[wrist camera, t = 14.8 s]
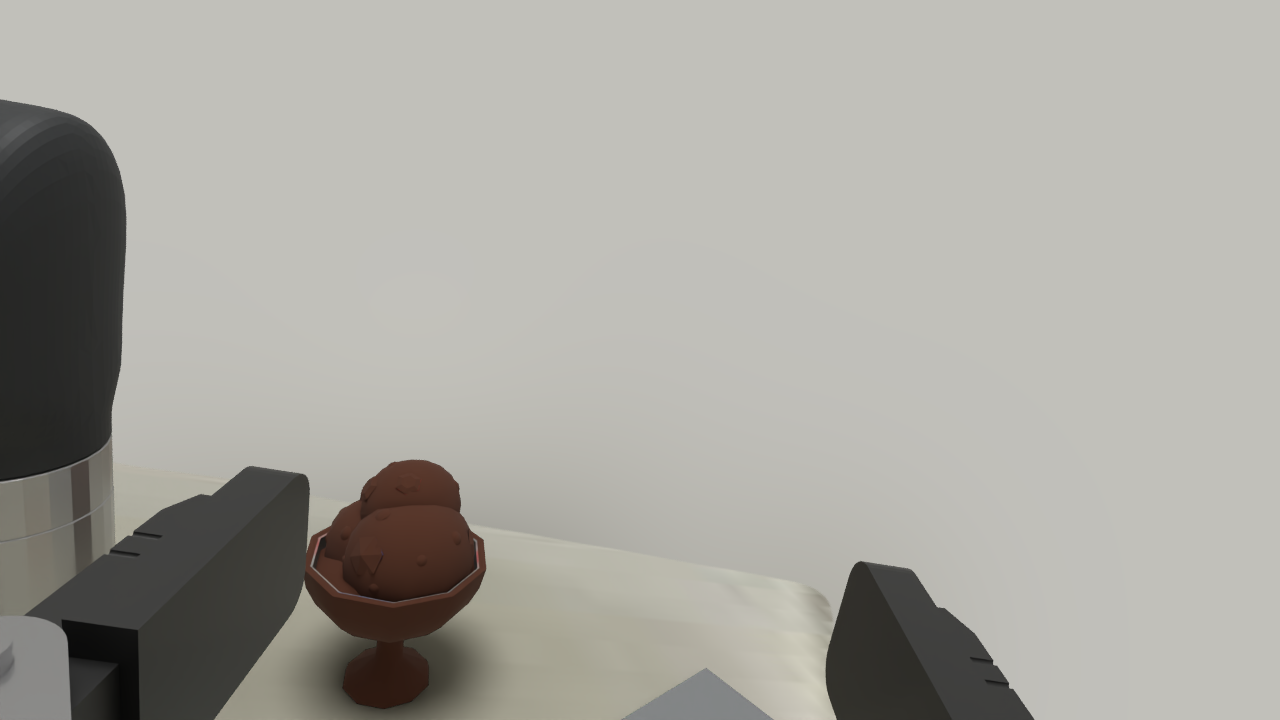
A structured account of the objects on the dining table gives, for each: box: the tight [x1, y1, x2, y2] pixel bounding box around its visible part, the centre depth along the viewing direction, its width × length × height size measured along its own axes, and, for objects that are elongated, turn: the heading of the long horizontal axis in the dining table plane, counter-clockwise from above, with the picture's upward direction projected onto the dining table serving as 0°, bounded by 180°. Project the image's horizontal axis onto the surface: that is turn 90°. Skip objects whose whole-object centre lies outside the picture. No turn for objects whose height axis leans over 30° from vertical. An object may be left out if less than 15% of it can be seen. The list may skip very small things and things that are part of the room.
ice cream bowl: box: [304, 460, 486, 709], centre depth 46 cm, size 11×11×15 cm
